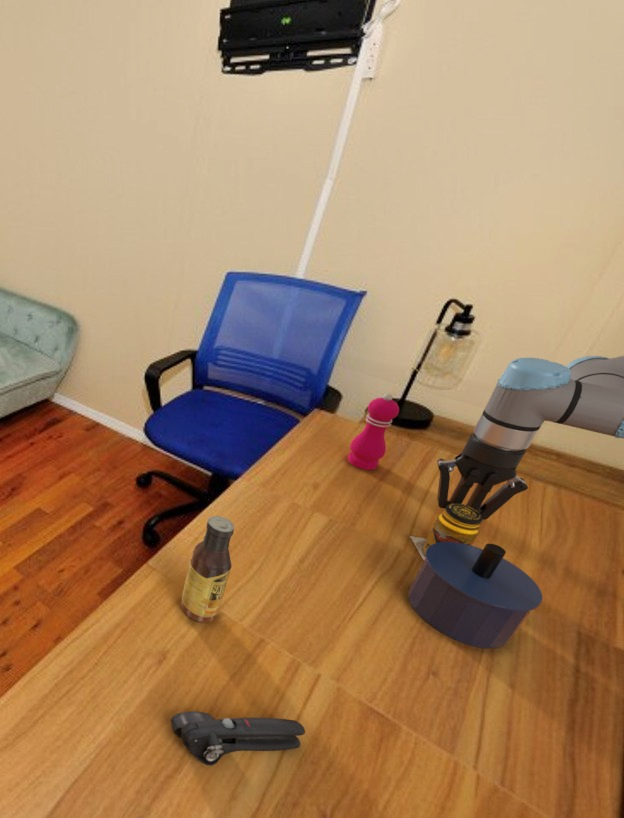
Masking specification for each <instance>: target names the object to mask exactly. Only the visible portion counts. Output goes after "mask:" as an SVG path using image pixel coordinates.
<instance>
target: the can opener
mask: <svg viewBox="0 0 624 818" xmlns="http://www.w3.org/2000/svg"><path fill="white" fill-rule="evenodd" d="M170 724H171V729H172V730H173V734H174V735H175V736H176V737H178V738H180V739H181V741H182V744H183V745H184V747H185V749H187V751H189V752H190V754H191V755H192V756H193V757H194V758H195V759H197V760H198V761H199V762H200V763H202V764H203V765H206V766H214V765H216V764H217V763H218V762H219V761H220V760H221V759H222V757H223V756H224V755H227V754H230V753H235V752H245V751H246V752H249V751H250V752H278V751H279V752H280V751H289V750H294V749H298V748H299V747H301V741H300V738H299V737H297V736H303V735H305V734H306V729H305V726H303V724H301V723H300V722H299V721H297V720H294V719H286V718H278V717H277V718H276V717H230V718H229V717H227V718H219V719H216V718H214V716H213V715H211V714H210V713H207V712H203V711H184V712H180V713H179V712H178V713H176V714H173V716H171V717H170Z"/></svg>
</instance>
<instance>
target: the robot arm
mask: <svg viewBox="0 0 624 818" xmlns="http://www.w3.org/2000/svg"><path fill="white" fill-rule="evenodd" d="M544 422H551V423H554V424H559V425H563V426H567V427H572V428H576V429H581V430H585V431H589V432H593V433H597V434H601V435H606V436H610V437H614V438H615V439H624V355H620V356H616V357H615V356H614V357H611V358H610V357H607V356H601V355H587V356H582V357H579V358H576V359H574V360H572V361H570V362H569V363H568V364H566V365H563V364H561V363H559V362H556V361H550V360H548V359H544V358H539V357H538V358H536V357H518V358H515V359H513V360H512V361H510V362H509V363H508V364H507V366H506V368H505V370H504V371H503V373H502V374H501V376H500V378H499V379H498V380H497V383H496V385H495V387H494V389H493V391H492V393H491V395H490V397H489V399H488V401H487V403H486V405H485V407H484V409H483V411H482V413H481V415H480V417H479V419H478V421H477V422H476V424H475V426H474V428H473V431H472V433H471V434H470V436H469V438H468V440H467V442H466V443H465V445H464V447H463V449H462V451H461V453H459V454H457V455H456V456H455V457H454V459H453V458H452V459H444V458H438V459H437V460H436V463H437V467H438V470H439V480H438V481H439V482H438V487H437V496H436V497H437V498H436V499H437V505H438V507H439V508H441V509H444V510H445V509H446V506H447V505H448V504H451V503H459V504H463V502H464V501H465V499H466V497H467V495H468V494H469V491H470V489H471V488H473V486H474V484H476V485H475V488H474V490H473V491H472V493H471V495H470V497H469V498H468V500H467V503H466V504H465V505H467V506H469V507H472V508H474V509H476V510H477V511H479V512H480V513H481V515H482V518H483V520H482V521H484V520H485V521H486V520H488V519H489V518H491V516H492V515H494V514H495V513H496V512H497V511H498V510H499V509H500V508H501V507H503V506H504V505H505V504H506V503H507V502H509V501H510V500H511V499H513V497H514V496H515V495H517V494H519V493H520V494H521V493H522V492H525V491H526V490H528V489H529V487H528V484H527V482H526V480H525V479H524V478H523V477H519V476H518V475H517V468H518V467H519V465H520V463H521V461H522V459H524V458H523V457H524V456H525V454H526V452H527V449H528V448H530V447H531V444H532V442H533V441H534V439H535V437H536V435H537V433H538V432H539V431H540V429H541V427H542V425H543V424H544ZM455 467H457V470H458V472H459V473H460V479H459V481H458V483H457V485H456V487H455V488H454V491H453V492H452V494H451V496H450V498H449V500H448V497H449V489H450V481H451V473H453V472H454V469H455ZM505 482H506V483H505ZM502 483H504V484H503V485H502V486H501V487H500V488H499V489H498V490H497V491H495V492H494V493H493V494H492V495H491V496H490V497H489V498H488V499H487V500H485V499H486V497H487V495H488V494H489V493H490V492H491V491H492V489H493V487H494V486H497V485H500V484H502Z"/></svg>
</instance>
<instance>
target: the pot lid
mask: <svg viewBox="0 0 624 818" xmlns="http://www.w3.org/2000/svg"><path fill="white" fill-rule="evenodd" d="M506 554H507V552H506V550H505V548H503V547H502V546H500V545H498V544H495V543H486V544H485V546H484V548H480V547H477V546H475V545H472V546H471V545H467V544H462V543H456V542H439V543H435V544H432V545H430V546H429V547H428V548H427V550H426V552H425V559H426V562H427V564H428V566H429V567H430V569H431V570H432V571H433V572H434V574H435V575H436V576H437V577H439V578H440V579H441V580H442V581H443V582H444V583H446V584H447V585H449V586H450V587H451V588H453V589H455V590H456V591H458V592H459V593H461V594H463V595H465V596H467V597H469V598H471V599H473V600H475V601H478V602H480V603H483V604H486V605H488V606H491V607H495V608H498V609H503V610H508V611H518V612H522V611H530V610H531V611H533V610H536V609H537V608H538V607H539V606H540V605H541V603H542V602H543V593H542V590H541V589H540V587H539V585H538V584H537V583H536V581H535V580H533V578H532V577H531V576H529V575H528V574H527V573H526V572H525V571H524V570H522V569H521V568H520V567H518V566H517V565H516V564H514V563H512V562H511V561H508V560H507V559H505V558H504V557H505V555H506ZM531 611H530V612H531Z"/></svg>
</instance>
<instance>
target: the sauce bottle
mask: <svg viewBox="0 0 624 818" xmlns="http://www.w3.org/2000/svg"><path fill="white" fill-rule="evenodd" d="M234 531H235V525H234V523H233V522H232V521H231V520H230V519H228V518H227V517H224V516H221V515H214V516H210V517H208V519H207V522H206V532H205V535H204V537H203V540H201V541H200V542H199V543H197V545H195V546H194V549H193V551H192V555H191V559H190V561H189V566H188V570H187V572H186V576H185V582H184V586H183V589H182V590H183V591H182V594H181V603H180V604H181V609H182V611H183V613H184V614H185V616H187V617H188V618H189V619H191V620H192V621H195V622H197V623H203V624H204V623H205V624H206V623H209V622H212V621H214V620H215V619H216V617H217V615H218V613H219V611H220V608H221V606H222V605H221V603H222V601H223V598H224V594H225V590H226V587H227V584H228V580H229V577H230V575H231V574H230V573H231V571H232V559H231V555H230V549H229V548H230V541H231V538H232V537H233V535H234Z"/></svg>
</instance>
